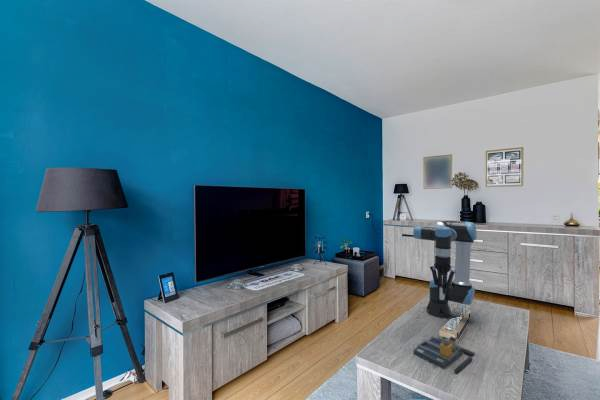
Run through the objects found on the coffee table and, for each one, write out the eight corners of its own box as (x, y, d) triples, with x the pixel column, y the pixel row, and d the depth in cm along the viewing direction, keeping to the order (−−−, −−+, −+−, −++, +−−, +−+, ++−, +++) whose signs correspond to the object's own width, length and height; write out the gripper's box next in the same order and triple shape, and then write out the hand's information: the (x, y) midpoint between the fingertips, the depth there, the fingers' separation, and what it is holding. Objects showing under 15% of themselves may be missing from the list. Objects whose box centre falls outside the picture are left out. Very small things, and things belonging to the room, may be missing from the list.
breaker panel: (431, 341, 156) (432, 326, 156) (462, 354, 144) (462, 338, 143) (413, 353, 145) (413, 337, 145) (444, 369, 132) (445, 351, 132)
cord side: (468, 359, 140) (468, 356, 140) (472, 360, 139) (472, 357, 138) (453, 372, 130) (453, 369, 130) (457, 374, 128) (457, 370, 128)
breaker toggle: (443, 352, 142) (443, 340, 142) (451, 356, 139) (452, 343, 138) (439, 355, 139) (440, 342, 139) (448, 359, 136) (448, 346, 136)
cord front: (434, 338, 160) (434, 335, 160) (474, 354, 144) (474, 351, 143) (431, 339, 158) (431, 337, 158) (472, 357, 141) (472, 354, 141)
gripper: (427, 254, 152) (426, 297, 153) (452, 259, 142) (451, 304, 142) (434, 252, 157) (433, 294, 157) (458, 257, 146) (457, 301, 147)
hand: (442, 299), depth 150 cm, fingers closed
